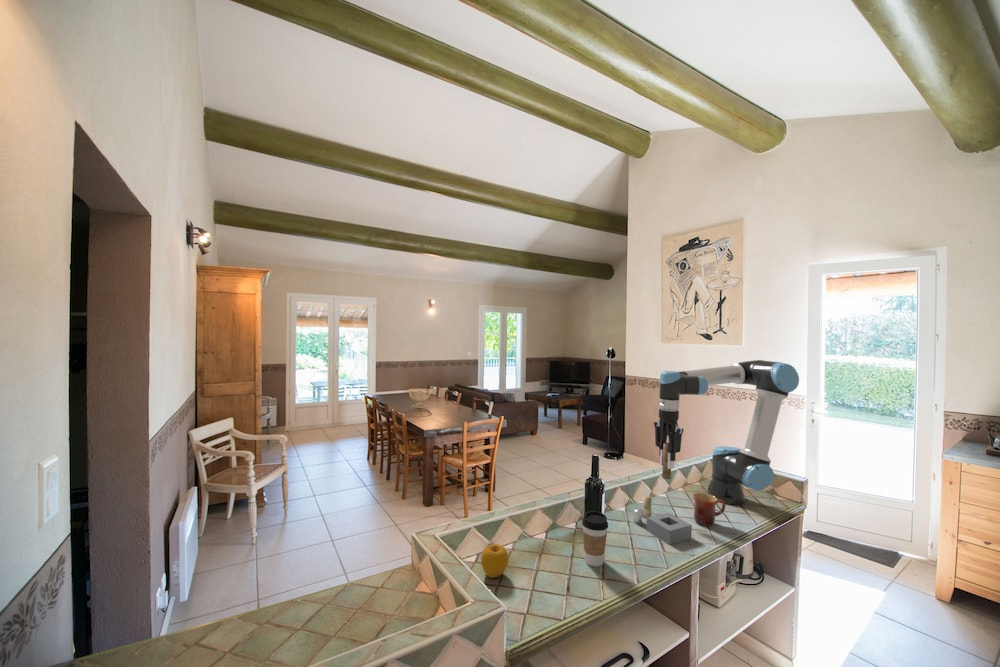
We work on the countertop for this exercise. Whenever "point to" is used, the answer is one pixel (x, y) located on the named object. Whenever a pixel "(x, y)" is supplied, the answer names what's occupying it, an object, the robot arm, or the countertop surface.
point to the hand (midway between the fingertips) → (666, 466)
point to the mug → (706, 508)
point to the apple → (494, 560)
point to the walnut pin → (666, 462)
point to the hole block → (669, 528)
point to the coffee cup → (594, 537)
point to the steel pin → (638, 516)
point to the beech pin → (647, 506)
